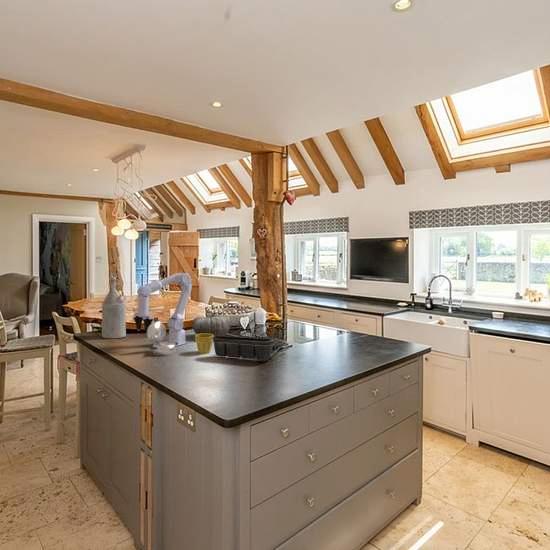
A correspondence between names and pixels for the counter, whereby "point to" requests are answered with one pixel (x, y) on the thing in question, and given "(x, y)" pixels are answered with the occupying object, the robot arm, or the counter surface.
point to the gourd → (211, 325)
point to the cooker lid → (156, 331)
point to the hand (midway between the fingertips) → (142, 330)
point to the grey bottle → (113, 313)
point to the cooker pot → (164, 348)
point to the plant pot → (204, 342)
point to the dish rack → (246, 345)
